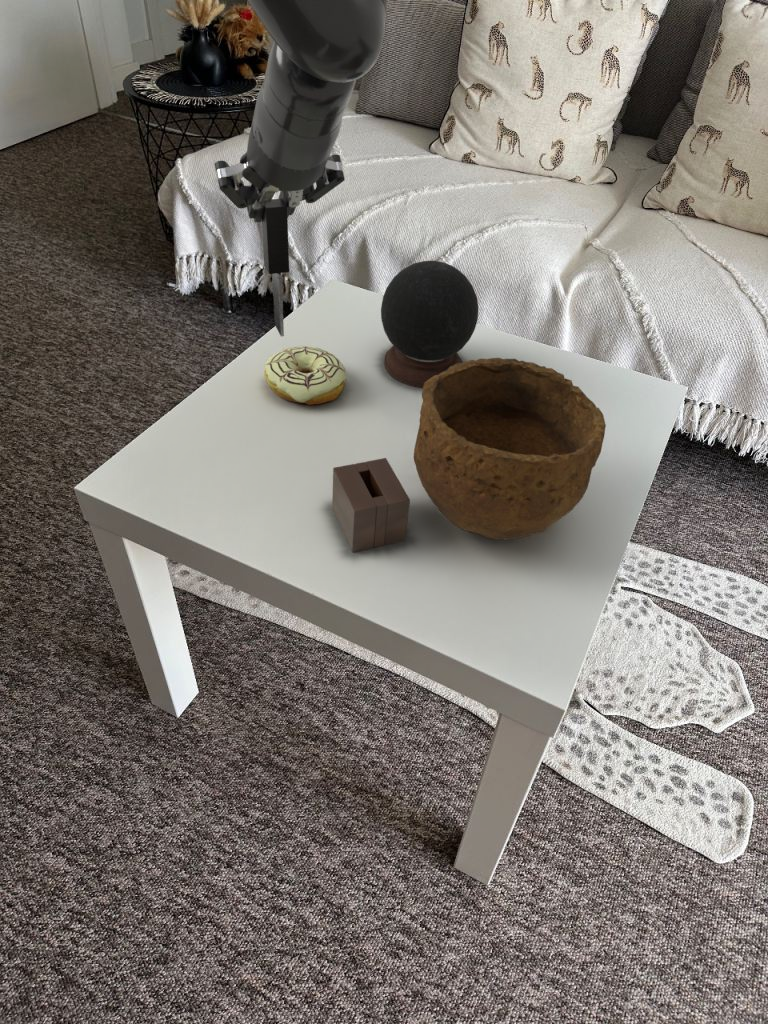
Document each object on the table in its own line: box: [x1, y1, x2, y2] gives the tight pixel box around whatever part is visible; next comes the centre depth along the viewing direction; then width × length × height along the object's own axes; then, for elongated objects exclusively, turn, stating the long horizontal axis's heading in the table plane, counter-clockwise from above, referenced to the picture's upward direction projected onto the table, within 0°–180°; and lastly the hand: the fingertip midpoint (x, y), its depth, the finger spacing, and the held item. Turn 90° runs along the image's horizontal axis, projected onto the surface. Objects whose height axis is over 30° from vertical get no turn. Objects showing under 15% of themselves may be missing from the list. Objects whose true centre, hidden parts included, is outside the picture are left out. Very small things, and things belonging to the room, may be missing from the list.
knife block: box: [331, 457, 411, 553], centre depth 75 cm, size 6×7×6 cm
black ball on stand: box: [380, 260, 479, 389], centre depth 96 cm, size 13×13×15 cm
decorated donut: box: [263, 346, 348, 406], centre depth 94 cm, size 10×11×4 cm
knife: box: [261, 198, 290, 337], centre depth 83 cm, size 2×3×16 cm
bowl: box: [413, 357, 607, 540], centre depth 75 cm, size 19×19×15 cm
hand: (268, 212), depth 80 cm, fingers closed on knife, 2 cm apart
